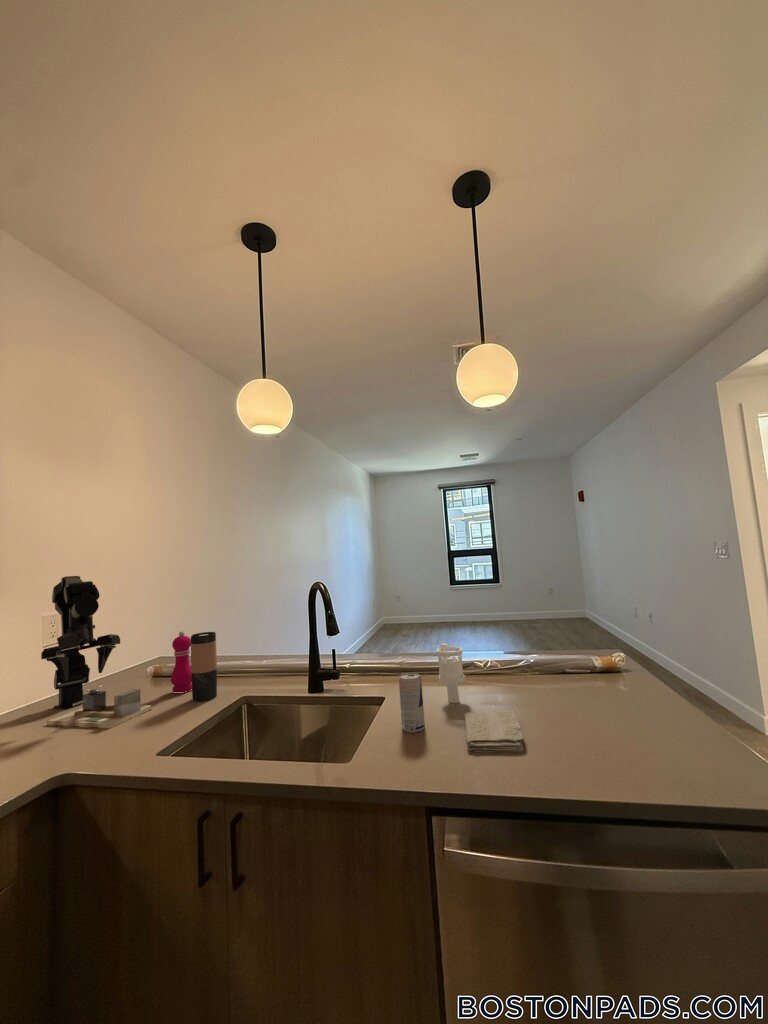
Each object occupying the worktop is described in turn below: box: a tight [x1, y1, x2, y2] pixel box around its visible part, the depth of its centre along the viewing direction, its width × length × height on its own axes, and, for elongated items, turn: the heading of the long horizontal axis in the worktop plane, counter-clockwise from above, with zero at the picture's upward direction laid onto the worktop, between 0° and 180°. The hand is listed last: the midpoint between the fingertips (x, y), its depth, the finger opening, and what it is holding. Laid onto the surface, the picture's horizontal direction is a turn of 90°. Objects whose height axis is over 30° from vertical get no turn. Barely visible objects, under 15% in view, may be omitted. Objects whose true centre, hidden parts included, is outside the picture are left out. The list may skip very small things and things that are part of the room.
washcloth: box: [463, 710, 524, 753], centre depth 93 cm, size 12×18×3 cm, turn 172°
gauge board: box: [46, 688, 153, 729], centre depth 123 cm, size 23×14×7 cm, turn 73°
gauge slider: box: [73, 688, 107, 712], centre depth 122 cm, size 4×8×6 cm, turn 163°
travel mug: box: [190, 631, 218, 703], centre depth 135 cm, size 8×8×20 cm
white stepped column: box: [436, 643, 466, 704], centre depth 116 cm, size 7×7×15 cm
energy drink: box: [398, 672, 426, 734], centre depth 100 cm, size 5×5×12 cm
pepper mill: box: [170, 630, 192, 693], centre depth 145 cm, size 7×7×20 cm
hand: (83, 677), depth 122 cm, fingers open, 9 cm apart
